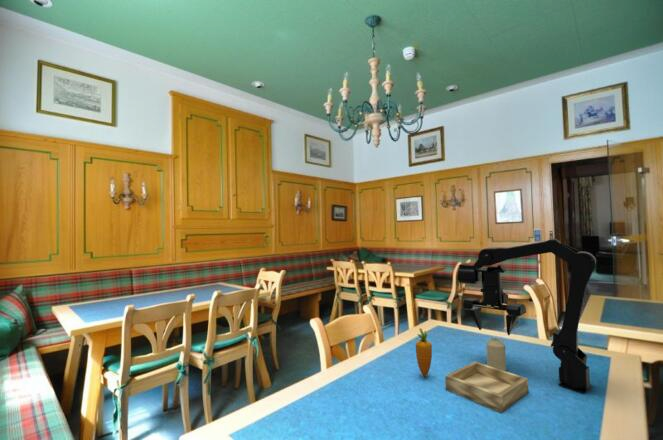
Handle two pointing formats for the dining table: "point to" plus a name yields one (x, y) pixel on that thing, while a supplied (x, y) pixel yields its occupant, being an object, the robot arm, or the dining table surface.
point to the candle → (496, 354)
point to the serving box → (487, 385)
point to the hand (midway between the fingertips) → (494, 332)
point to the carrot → (423, 353)
